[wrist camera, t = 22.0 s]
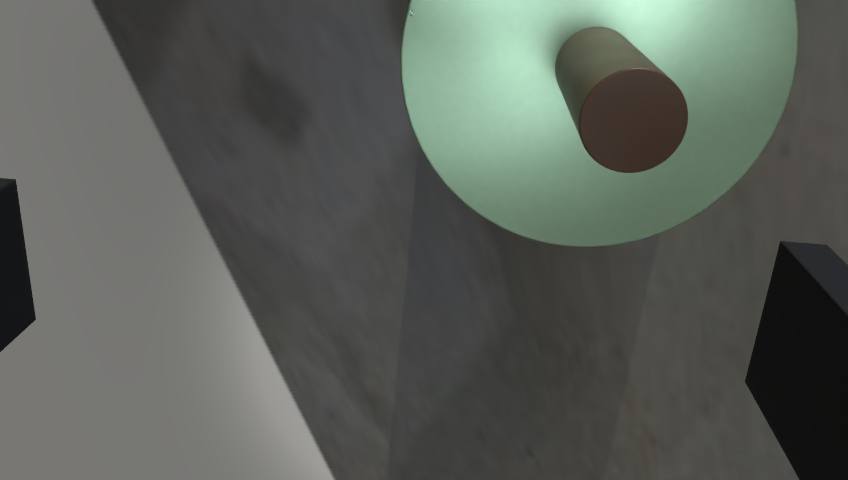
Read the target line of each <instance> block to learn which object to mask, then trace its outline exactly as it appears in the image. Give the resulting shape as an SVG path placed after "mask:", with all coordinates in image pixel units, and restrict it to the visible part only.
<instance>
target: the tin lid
mask: <svg viewBox="0 0 848 480" xmlns="http://www.w3.org/2000/svg"><path fill="white" fill-rule="evenodd" d="M798 36H799V27H798V17H797V6H796V0H410V2H409V6H408V10H407V14H406V18H405V22H404V27H403V35H402V44H401V82H402V89H403V96H404V102H405V106H406V109H407V113H408V117H409V120H410V124H411V127H412V129H413V131H414V134H415V136H416V138H417V141H418V143H419V145H420V148H421V149H422V151H423V153H424V154H425V156H426V158H427V160H428V161H429V163H430V165H431V166H432V168H433V169H434V171H435V172H436V173H437V174H438V176H439V177H440V178H441V179H442V181H443V182H444V183H445V185H446V186H447V187H448V188H449V189H450V190H451V191H452V192H453V193H454V194H455V195H456V196H457V197H458V198H459V199H460V200H461V201H462V202H463V203H465V204H466V205H467V206H469V207H470V208H471V209H473V210H474V211H475V212H477V213H478V214H479V215H481V216H482V217H484V218H485V219H487V220H489V221H491V222H492V223H494V224H496V225H498V226H499V227H501V228H503V229H506V230H508V231H510V232H513V233H515V234H518V235H520V236H523V237H526V238H529V239H533V240H537V241H540V242H544V243H549V244H556V245H563V246H573V247H598V246H609V245H618V244H623V243H627V242H632V241H637V240H641V239H644V238H647V237H650V236H653V235H656V234H659V233H662V232H664V231H666V230H668V229H671V228H673V227H675V226H677V225H679V224H681V223H683V222H685V221H687V220H689V219H690V218H692V217H693V216H695V215H697V214H698V213H700V212H702V211H703V210H705V209H706V208H708V207H709V206H710V205H712V204H713V203H714V202H715V201H717V200H718V199H719V198H720V197H722V196H723V195H724V194H725V193H727V192H728V191H729V190H730V189H731V188H732V187H733V186H734V185H735V184H736V183H737V182H738V181H739V180H740V179H741V178H742V177H743V176H744V175H745V173H746V172H747V171H748V170H749V168H750V167H751V166H752V164H753V163H754V162H755V161H756V159H757V158H758V157H759V156H760V154H761V153H762V151H763V149H764V148H765V146H766V145H767V143H768V141H769V140H770V138H771V136H772V135H773V133H774V131H775V129H776V127H777V125H778V123H779V120H780V118H781V116H782V114H783V111H784V109H785V107H786V104H787V100H788V97H789V94H790V91H791V88H792V84H793V80H794V74H795V69H796V63H797V57H798Z"/></svg>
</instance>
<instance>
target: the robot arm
mask: <svg viewBox="0 0 848 480" xmlns="http://www.w3.org/2000/svg"><path fill="white" fill-rule="evenodd" d="M35 320H36V318H35V312H34V304H33V297H32V290H31V284H30V276H29V269H28V262H27V255H26V249H25V241H24V234H23V227H22V220H21V213H20V206H19V199H18V192H17V185H16V180H15V179H3V178H0V352H1V351H2V350H3V349H4V348H5V347H6V346H7V345H8V344H9V343H10V342H12V341H13V340H14V339H15V338H16V337H17V336H18V335H19V334H20V333H21V332H22V331H24V330H25V329H26V328H27V327H28V326H29V325H30V324H31V323H32V322H33V321H35ZM745 382H746V384H747V386H748V388H749V390H750V391H751V393H752V395H753V397H754V399H755V400H756V402H757V404H758V406H759V408H760V409H761V411H762V413H763V415H764V417H765V418H766V420H767V422H768V424H769V426H770V427H771V429H772V431H773V433H774V435H775V436H776V438H777V440H778V442H779V444H780V445H781V447H782V449H783V451H784V453H785V454H786V456H787V458H788V460H789V462H790V463H791V465H792V467H793V469H794V471H795V472H796V474H797V476H798V478H799V480H848V265H847V264H846V263H845V262H844V261H843V260H842V259H841V258H840V257H839V256H838V255H837V254H836V253H835V252H834V251H833V250H832V249H831V248H829V247H828V246H827V245H821V244H809V243H796V242H784V241H780V245H779V249H778V253H777V257H776V261H775V265H774V269H773V273H772V277H771V281H770V285H769V289H768V293H767V297H766V301H765V304H764V308H763V312H762V316H761V320H760V324H759V328H758V332H757V336H756V340H755V344H754V348H753V352H752V356H751V360H750V364H749V368H748V372H747V376H746V380H745Z"/></svg>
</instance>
